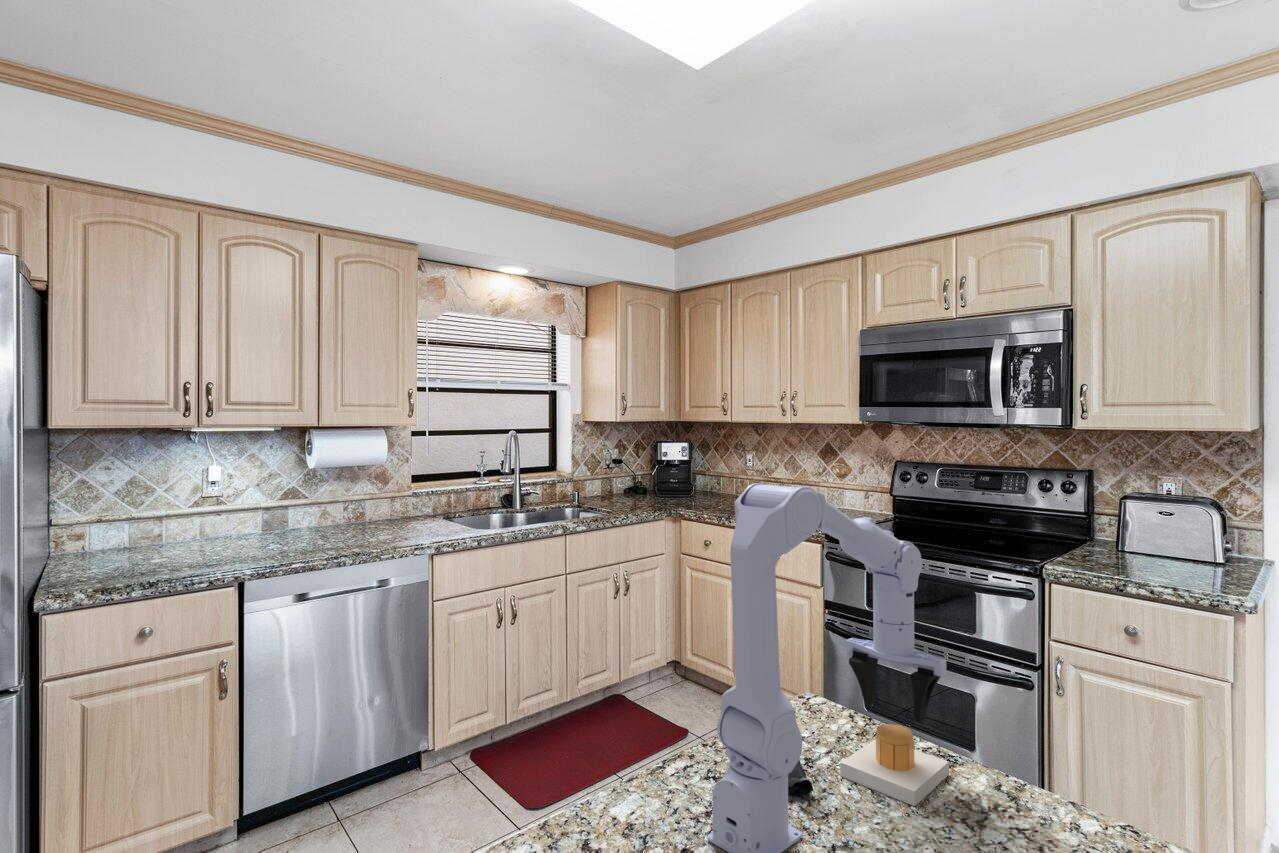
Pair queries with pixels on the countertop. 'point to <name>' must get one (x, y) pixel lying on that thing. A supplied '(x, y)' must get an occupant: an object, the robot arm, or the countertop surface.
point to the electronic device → (799, 780)
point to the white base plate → (895, 774)
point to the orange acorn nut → (895, 747)
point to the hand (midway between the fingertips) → (894, 711)
